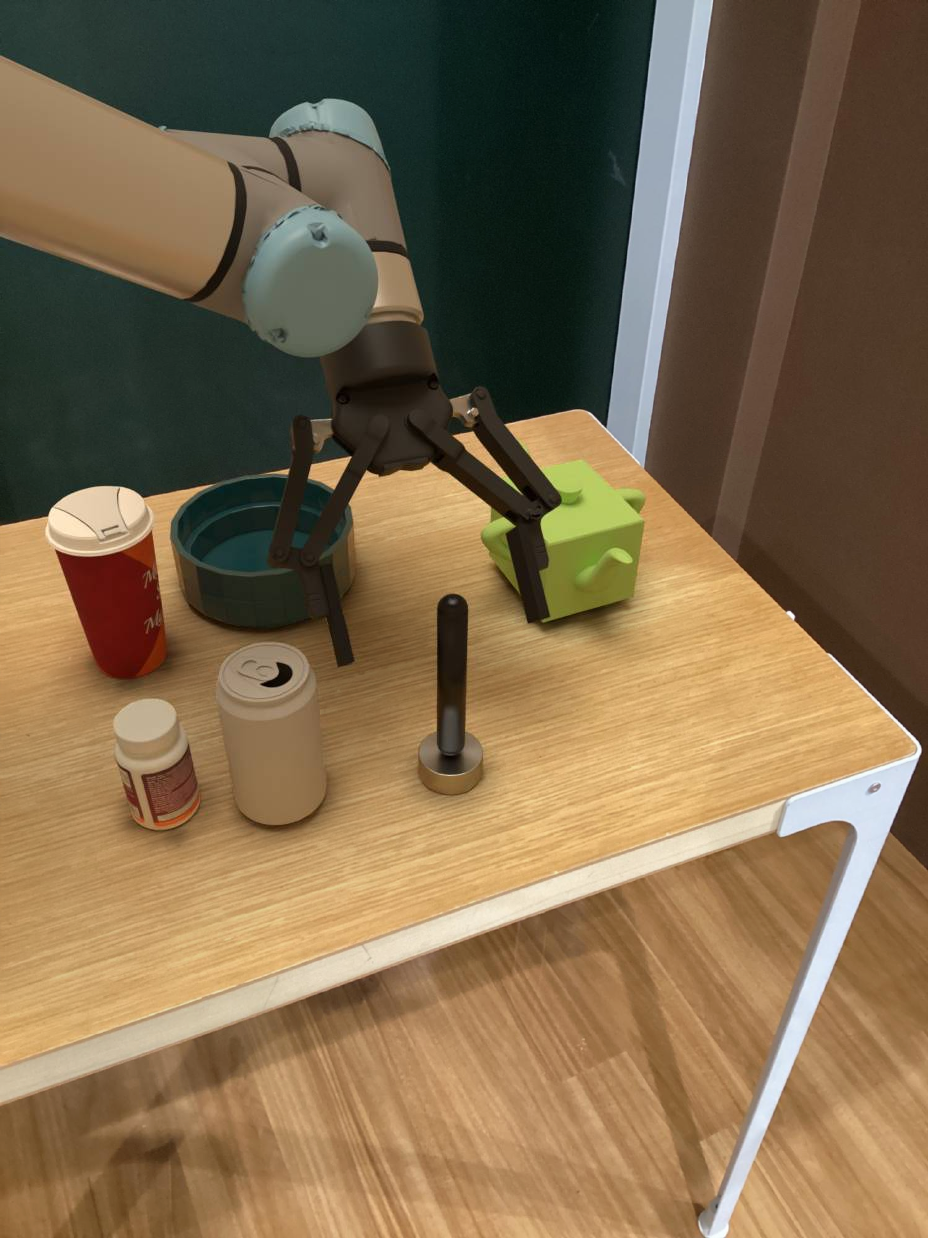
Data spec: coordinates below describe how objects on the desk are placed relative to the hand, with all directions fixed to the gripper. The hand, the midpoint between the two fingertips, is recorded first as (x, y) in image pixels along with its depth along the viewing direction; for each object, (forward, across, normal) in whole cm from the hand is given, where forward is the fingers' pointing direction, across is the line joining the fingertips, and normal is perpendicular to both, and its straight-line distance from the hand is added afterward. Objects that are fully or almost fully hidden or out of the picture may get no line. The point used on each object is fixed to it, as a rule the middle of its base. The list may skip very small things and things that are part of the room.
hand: (445, 642), depth 71 cm
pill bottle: (+6, +20, -9) cm, 23 cm away
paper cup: (-5, +20, -21) cm, 30 cm away
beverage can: (+8, +12, -8) cm, 16 cm away
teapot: (-3, -16, -19) cm, 25 cm away
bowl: (-10, +8, -26) cm, 28 cm away
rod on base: (+9, 0, -7) cm, 11 cm away
